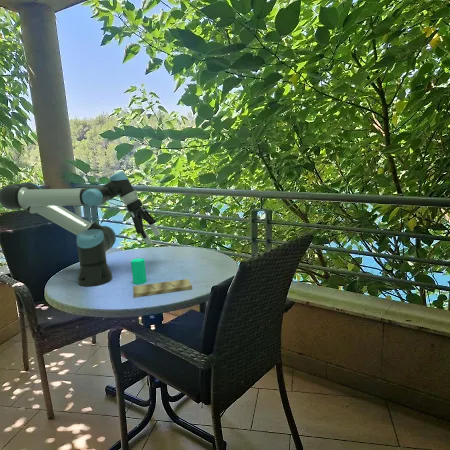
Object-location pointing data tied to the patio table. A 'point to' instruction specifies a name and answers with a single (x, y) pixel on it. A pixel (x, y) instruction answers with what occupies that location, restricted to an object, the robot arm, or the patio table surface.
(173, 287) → the oak board
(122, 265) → the patio table surface
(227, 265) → the patio table surface
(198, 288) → the patio table surface
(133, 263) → the candle
